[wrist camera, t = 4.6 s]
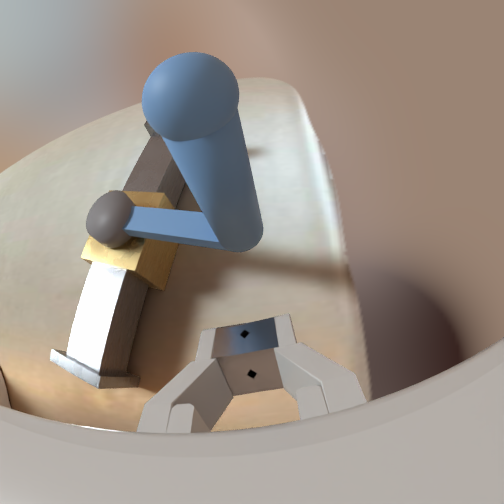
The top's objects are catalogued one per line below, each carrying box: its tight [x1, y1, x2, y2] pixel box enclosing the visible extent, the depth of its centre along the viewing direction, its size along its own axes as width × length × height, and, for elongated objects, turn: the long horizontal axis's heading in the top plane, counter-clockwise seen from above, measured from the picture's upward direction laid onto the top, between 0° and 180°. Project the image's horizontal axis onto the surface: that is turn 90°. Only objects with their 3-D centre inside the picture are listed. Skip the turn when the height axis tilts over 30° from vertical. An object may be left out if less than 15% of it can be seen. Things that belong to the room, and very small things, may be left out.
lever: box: [86, 52, 263, 252], centre depth 14 cm, size 15×4×13 cm, turn 78°
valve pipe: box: [50, 121, 186, 389], centre depth 24 cm, size 26×6×6 cm, turn 168°
